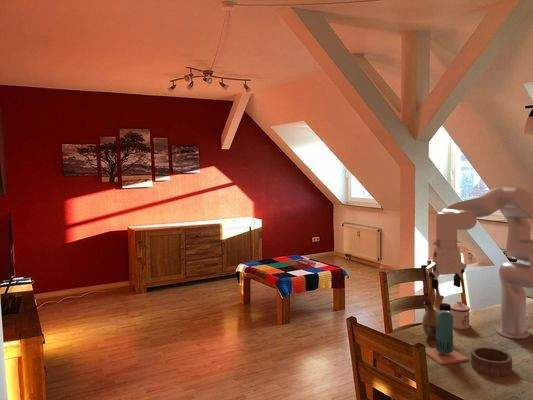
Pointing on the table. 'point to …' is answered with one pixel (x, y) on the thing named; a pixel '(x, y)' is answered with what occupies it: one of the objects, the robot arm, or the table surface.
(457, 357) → the terracotta tile
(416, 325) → the table surface
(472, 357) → the walnut collar
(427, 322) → the ceramic vessel
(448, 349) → the beverage bottle
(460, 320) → the teacup with lid
